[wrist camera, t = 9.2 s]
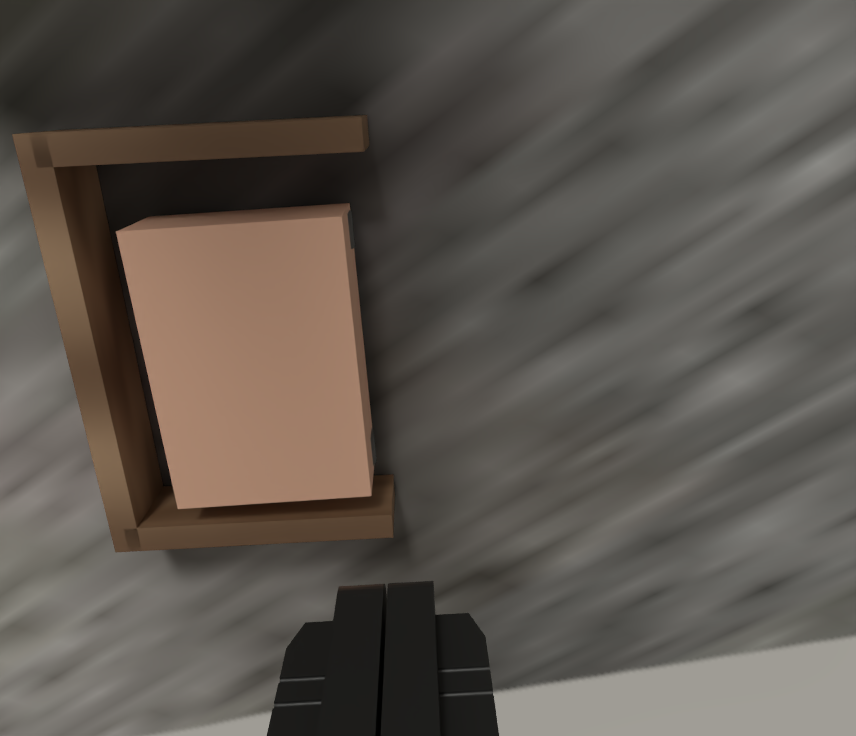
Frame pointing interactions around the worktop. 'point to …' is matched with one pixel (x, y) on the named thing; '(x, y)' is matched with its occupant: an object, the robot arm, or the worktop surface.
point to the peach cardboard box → (254, 352)
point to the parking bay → (112, 341)
